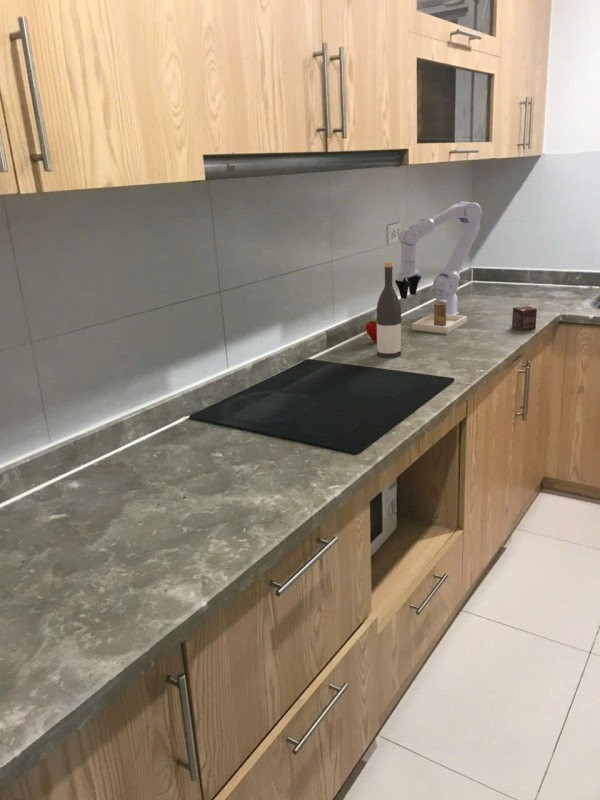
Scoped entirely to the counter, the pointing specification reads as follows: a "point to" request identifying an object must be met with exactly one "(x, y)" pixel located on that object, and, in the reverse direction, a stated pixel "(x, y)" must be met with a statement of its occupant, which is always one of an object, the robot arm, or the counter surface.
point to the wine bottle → (388, 319)
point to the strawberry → (372, 329)
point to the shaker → (440, 312)
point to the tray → (428, 326)
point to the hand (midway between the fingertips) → (408, 296)
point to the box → (524, 318)
